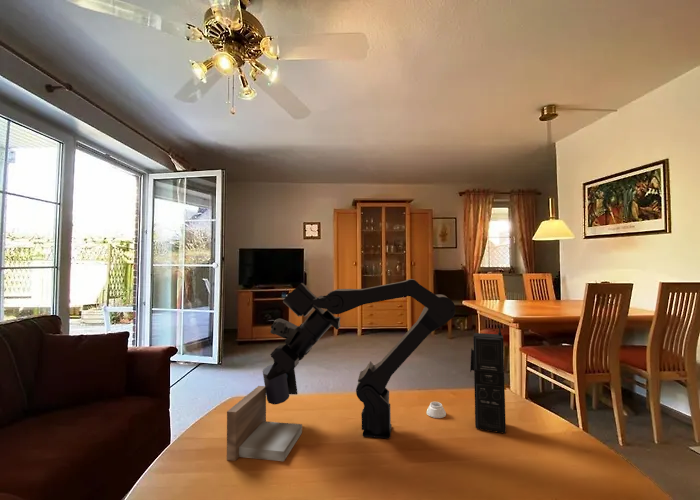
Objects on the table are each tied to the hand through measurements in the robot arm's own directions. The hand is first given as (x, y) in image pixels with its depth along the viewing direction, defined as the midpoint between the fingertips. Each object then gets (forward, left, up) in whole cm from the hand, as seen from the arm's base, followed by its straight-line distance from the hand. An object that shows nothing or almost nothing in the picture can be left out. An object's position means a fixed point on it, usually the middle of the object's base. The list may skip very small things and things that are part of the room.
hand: (272, 374), depth 86 cm
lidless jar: (-41, -13, -13) cm, 45 cm away
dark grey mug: (-2, -1, -7) cm, 7 cm away
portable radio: (-54, -9, -13) cm, 56 cm away
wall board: (-4, +8, -13) cm, 16 cm away
